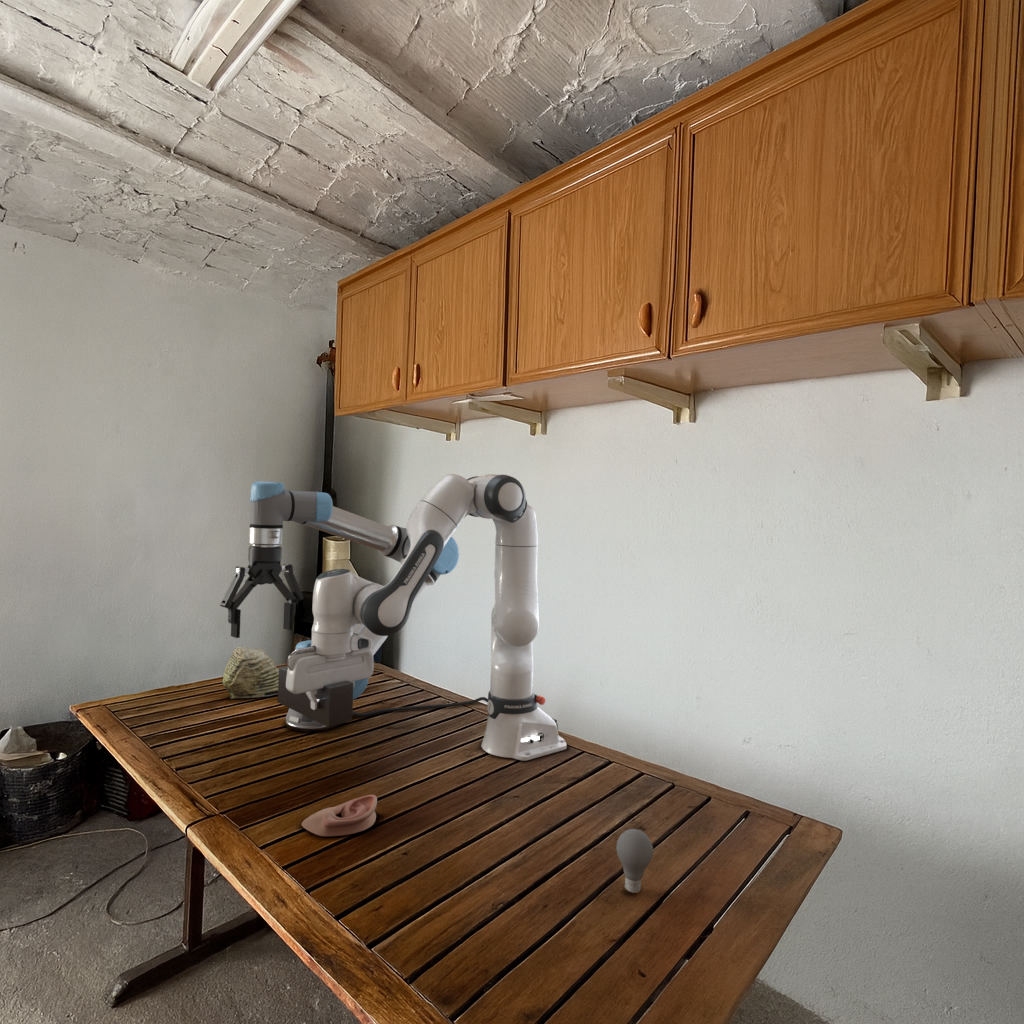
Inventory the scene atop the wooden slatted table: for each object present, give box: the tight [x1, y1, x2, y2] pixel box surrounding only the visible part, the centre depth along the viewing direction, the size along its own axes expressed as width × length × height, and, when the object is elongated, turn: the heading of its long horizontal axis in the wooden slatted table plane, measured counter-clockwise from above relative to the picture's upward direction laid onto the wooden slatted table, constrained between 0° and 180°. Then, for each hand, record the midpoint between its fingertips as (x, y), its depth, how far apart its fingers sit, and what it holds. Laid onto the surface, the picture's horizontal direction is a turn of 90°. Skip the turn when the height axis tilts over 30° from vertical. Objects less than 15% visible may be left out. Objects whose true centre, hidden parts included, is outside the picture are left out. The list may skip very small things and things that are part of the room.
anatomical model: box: [301, 794, 378, 837], centre depth 123 cm, size 13×4×12 cm
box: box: [277, 665, 354, 727], centre depth 145 cm, size 22×6×8 cm, turn 48°
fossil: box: [222, 646, 279, 699], centre depth 198 cm, size 9×18×15 cm, turn 132°
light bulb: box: [615, 828, 654, 894], centre depth 106 cm, size 6×6×10 cm
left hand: (262, 633), depth 153 cm, fingers open, 13 cm apart
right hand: (330, 704), depth 140 cm, fingers closed on box, 6 cm apart
